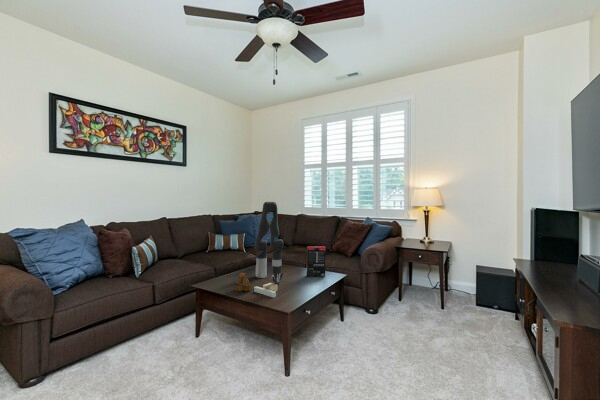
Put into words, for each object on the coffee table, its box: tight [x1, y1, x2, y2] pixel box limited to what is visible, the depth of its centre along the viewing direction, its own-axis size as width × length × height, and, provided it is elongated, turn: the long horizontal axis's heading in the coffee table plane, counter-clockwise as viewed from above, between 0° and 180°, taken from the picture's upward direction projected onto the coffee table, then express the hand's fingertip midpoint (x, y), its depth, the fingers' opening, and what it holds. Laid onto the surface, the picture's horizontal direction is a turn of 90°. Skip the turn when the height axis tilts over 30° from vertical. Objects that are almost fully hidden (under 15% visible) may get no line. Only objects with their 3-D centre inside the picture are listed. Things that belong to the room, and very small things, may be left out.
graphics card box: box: [305, 245, 327, 278], centre depth 255 cm, size 17×7×27 cm, turn 96°
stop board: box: [253, 285, 277, 298], centre depth 210 cm, size 20×2×4 cm, turn 53°
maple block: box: [262, 282, 279, 293], centre depth 216 cm, size 8×8×5 cm
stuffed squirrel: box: [235, 272, 252, 292], centre depth 218 cm, size 10×14×13 cm
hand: (276, 286), depth 220 cm, fingers closed
